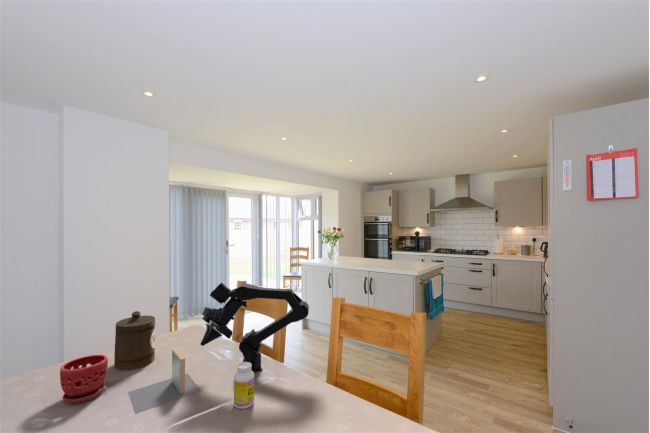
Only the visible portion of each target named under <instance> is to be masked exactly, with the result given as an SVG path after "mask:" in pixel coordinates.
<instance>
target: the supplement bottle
mask: <svg viewBox="0 0 650 433" xmlns="http://www.w3.org/2000/svg"><path fill="white" fill-rule="evenodd" d="M251 368H252V364H251V363H250V362H243V361H242V362H240V363H238V364H237V366H236V369H237V370H236V372H235V373H234V374H233V375H234V376H233V405H234V407H235V408H236V409H240V410H245V409H247V408H250V407H251V406H253V404H254V403H255V373H254V372H253V371H252V370H251Z"/></svg>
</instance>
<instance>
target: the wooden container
mask: <svg viewBox="0 0 650 433" xmlns="http://www.w3.org/2000/svg"><path fill="white" fill-rule="evenodd" d="M155 328H156V317H155V316H153V315H141V311H138V310H137V311H134V312H132V313H131V316H130V317H126V318H123V319H120V320H118V321H116V323H115V337H114V362H113V364H114V365H113V366H114V369H116V370H118V371H132V370H136V369H141V368H143V367H146V366H147V365H148V366H149V365H150V364H151V363H152V362H154V360H155V356H156V353H155V351H156V350H155V349H156V329H155Z"/></svg>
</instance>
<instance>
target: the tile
mask: <svg viewBox="0 0 650 433" xmlns="http://www.w3.org/2000/svg"><path fill="white" fill-rule="evenodd" d="M185 374H186V357H185V356H184V355H183V354H182V353H181V351H180V350H179V349H178V348H176V347H175V348H173V349H172V350H171V378H172V382H173V384H174V385H175V387H176V388H177V390H178V391H179V393H180V394H182V393H185Z"/></svg>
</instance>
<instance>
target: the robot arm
mask: <svg viewBox="0 0 650 433" xmlns="http://www.w3.org/2000/svg"><path fill="white" fill-rule="evenodd" d="M209 296H210V298H212V299H213V300H215V301H216V302H217V303H219V304H220V305H221V304H225V305H223V307H219V308H216V307H215V308H214V307H213V308H211V307H207V306H204V308H203V311H202V313H201V316H203V317H202V318H201V319H202V320H203V321H204V322H205V328H206V330H205V332H204V335H203V337H202V339H201V341H200V346H202V347H204V346H205V345H208V344H209V343H211V342H212V341H215V340H217V339H218V338H221V337H223V335H224V336H225V338H226V339H228V340H229V339H231V337H233V331H232V329H230V328H229V327H228V326H227V325H229V323H230V322H231V321H234V320H235V316H236V314H237V313H238V312H239V311H240V309H241V308H242V307H243V308H244V309H247V308H248V307H247V302H248V301H251V300H255V299H266V300H267V299H268V300H270V299H271V300H283V301H286V302H287V304H288V305H289V307H290V308H291V309H290V310H289V311H288V312H287V313H285V314H283V315H282V316H280V317H279V318H277V319H276V320H273V322H271V323H269V324H268V325H267V326H264V327H263V328H261V329H260V330H257V331H255V329H254V328H253V329H252V330H250V331H249V332H245V334H244V336H243V337H242V338H241V341H240V343H239V346H238V349H239V352H241V353H242V357H243V358H242V362H250V363H251V364H252V368H251V370H252V371H253V372H254V374H255V373H258V372H259V373H260V372H262V371H263V368H262V353H261V352H260V351H261V348H262V344H261V343H262V342H263V341H265V340H266V339H269V337H271V336H272V335H274V334H276V333H277V332H278V331H280V330H282V329H284V328H286V327H287V326H288V325H290V324H292V323H297V322H300V321H302V320H304V319H306V318H307V317H308V316H309V311H310V306H309V304H308V302H306V301H303V299H302V298H301V297H300V296H298V295H297V294H296V293H295V292H294V290H293V289H291V288H272V287H271V288H269V287H260V286H256V285H253V284H251V283H242V284H241V285H240V286H239V287H237V288H233V289H232V290H231V289H230V288H229V287H227V286H226V285H225V283H223V282H220V283H219V284H218V285H217V286H216V287H215V289H213V290H212V291H211V292H210V295H209Z"/></svg>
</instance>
